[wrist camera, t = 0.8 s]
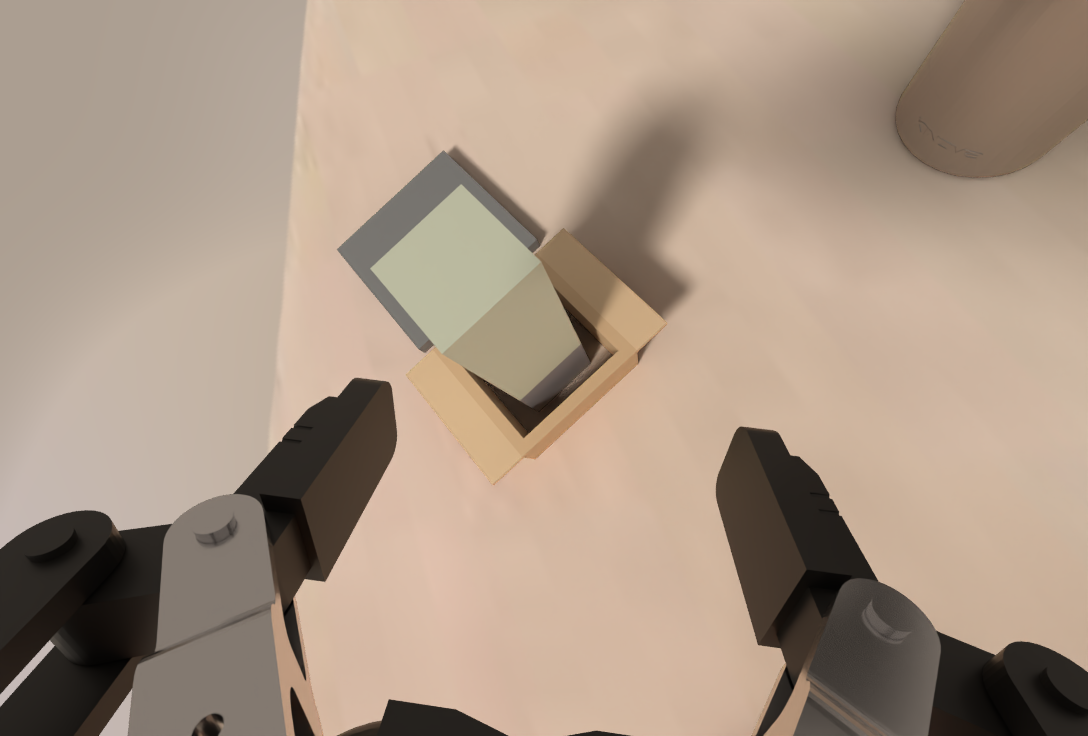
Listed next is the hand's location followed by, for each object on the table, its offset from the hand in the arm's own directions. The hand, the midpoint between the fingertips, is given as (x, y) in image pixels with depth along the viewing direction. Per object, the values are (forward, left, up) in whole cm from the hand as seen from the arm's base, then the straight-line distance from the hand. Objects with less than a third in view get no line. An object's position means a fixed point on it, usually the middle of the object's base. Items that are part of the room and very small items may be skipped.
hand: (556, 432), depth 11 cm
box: (-1, -8, -21) cm, 22 cm away
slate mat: (-1, -21, -20) cm, 30 cm away
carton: (-1, -8, -20) cm, 22 cm away
